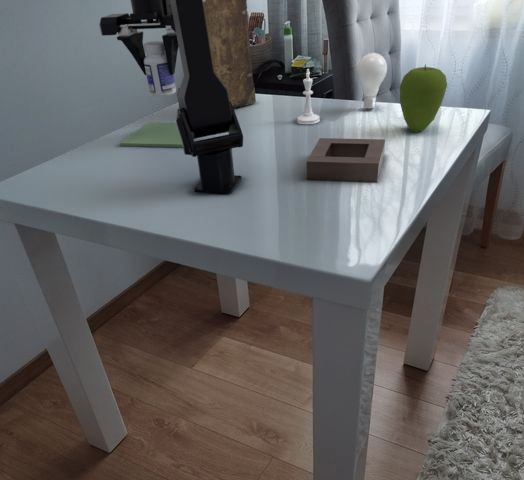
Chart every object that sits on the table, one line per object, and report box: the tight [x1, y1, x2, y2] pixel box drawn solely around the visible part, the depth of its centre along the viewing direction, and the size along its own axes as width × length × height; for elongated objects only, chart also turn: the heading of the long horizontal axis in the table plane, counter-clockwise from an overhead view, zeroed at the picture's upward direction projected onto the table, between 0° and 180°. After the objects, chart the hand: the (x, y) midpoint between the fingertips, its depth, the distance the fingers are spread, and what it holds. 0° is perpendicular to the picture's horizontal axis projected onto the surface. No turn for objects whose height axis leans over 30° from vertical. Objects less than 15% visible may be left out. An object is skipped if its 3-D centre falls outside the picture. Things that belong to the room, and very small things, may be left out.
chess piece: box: [296, 68, 320, 125], centre depth 106 cm, size 5×5×10 cm
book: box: [203, 0, 257, 109], centre depth 113 cm, size 17×7×25 cm, turn 126°
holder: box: [306, 137, 386, 183], centre depth 86 cm, size 12×12×3 cm
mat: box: [119, 121, 183, 148], centre depth 108 cm, size 14×14×1 cm
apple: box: [399, 64, 448, 133], centre depth 96 cm, size 9×8×12 cm
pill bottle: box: [143, 40, 177, 97], centre depth 99 cm, size 5×5×9 cm
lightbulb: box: [356, 52, 388, 111], centre depth 109 cm, size 6×6×11 cm
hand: (159, 74), depth 100 cm, fingers closed on pill bottle, 5 cm apart
